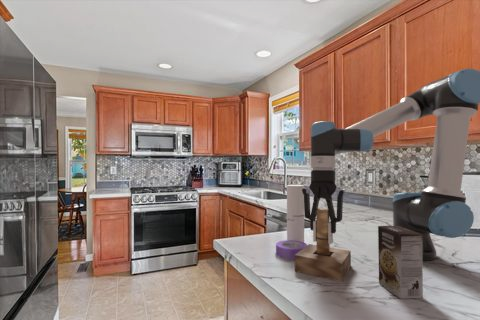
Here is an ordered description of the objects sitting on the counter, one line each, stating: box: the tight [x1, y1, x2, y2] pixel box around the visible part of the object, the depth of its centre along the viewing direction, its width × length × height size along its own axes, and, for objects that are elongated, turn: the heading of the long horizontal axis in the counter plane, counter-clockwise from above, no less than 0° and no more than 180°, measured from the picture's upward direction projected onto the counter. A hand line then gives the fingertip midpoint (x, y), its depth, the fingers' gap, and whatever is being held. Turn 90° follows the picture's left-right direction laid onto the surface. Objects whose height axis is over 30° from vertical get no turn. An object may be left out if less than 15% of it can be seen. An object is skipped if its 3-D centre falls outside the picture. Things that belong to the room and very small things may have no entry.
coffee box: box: [377, 225, 424, 300], centre depth 69 cm, size 9×6×16 cm
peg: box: [315, 208, 331, 255], centre depth 84 cm, size 4×4×14 cm
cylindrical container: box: [286, 184, 305, 243], centre depth 110 cm, size 7×7×25 cm
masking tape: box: [275, 239, 308, 260], centre depth 98 cm, size 12×12×4 cm
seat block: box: [294, 243, 352, 283], centre depth 84 cm, size 14×14×5 cm
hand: (322, 241), depth 84 cm, fingers closed on peg, 4 cm apart
